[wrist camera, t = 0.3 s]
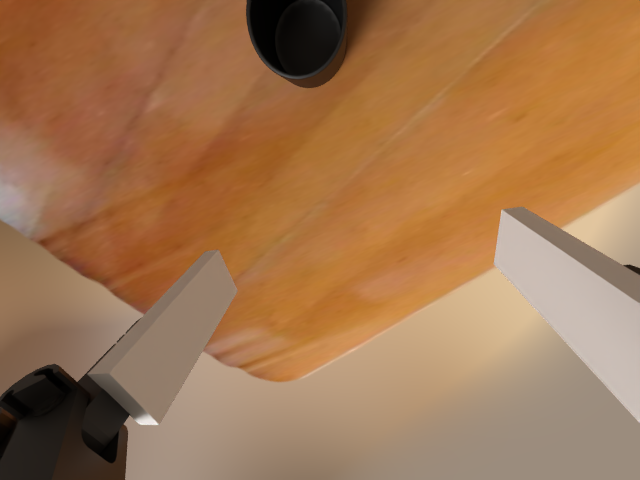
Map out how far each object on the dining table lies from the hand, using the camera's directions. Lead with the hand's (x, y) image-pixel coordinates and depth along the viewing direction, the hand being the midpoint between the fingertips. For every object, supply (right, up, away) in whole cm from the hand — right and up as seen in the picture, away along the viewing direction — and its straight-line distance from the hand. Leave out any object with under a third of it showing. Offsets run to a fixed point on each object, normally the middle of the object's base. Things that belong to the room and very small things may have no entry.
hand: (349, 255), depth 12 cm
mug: (-2, +26, +18) cm, 32 cm away
